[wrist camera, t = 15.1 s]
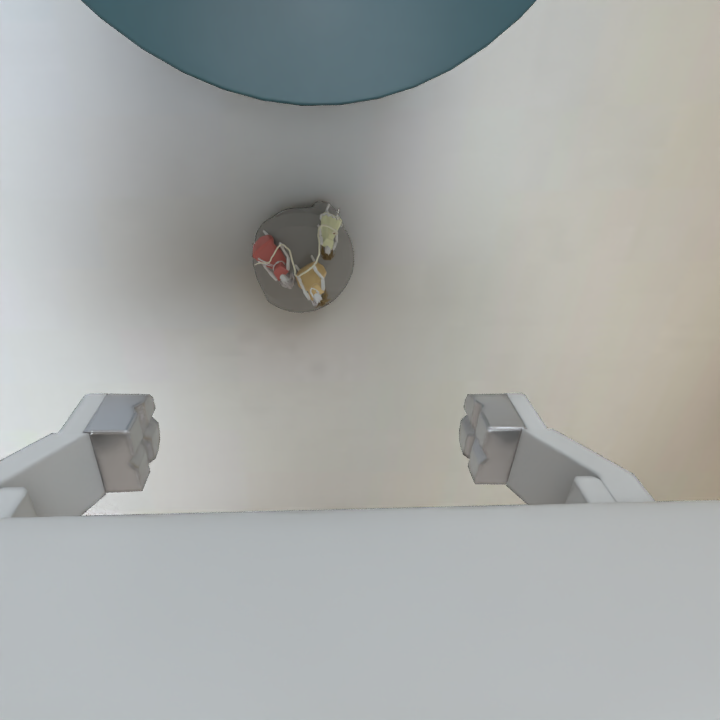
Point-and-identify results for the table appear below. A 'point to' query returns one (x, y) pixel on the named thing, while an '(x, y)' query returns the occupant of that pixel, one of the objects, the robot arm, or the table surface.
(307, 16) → the pot lid
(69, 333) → the table surface
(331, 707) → the robot arm
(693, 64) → the table surface
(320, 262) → the figurine
